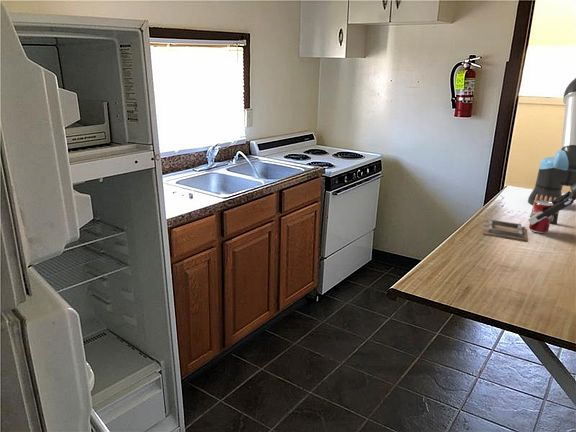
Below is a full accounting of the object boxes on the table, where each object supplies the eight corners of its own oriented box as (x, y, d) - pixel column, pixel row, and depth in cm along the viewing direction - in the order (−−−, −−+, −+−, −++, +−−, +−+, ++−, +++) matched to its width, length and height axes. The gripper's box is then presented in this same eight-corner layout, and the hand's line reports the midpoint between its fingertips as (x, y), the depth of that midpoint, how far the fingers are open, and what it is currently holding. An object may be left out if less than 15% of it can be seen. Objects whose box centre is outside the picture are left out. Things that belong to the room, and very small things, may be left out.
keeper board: (484, 222, 207) (484, 217, 206) (524, 228, 201) (525, 223, 200) (483, 234, 193) (484, 229, 192) (526, 241, 187) (527, 236, 186)
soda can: (529, 231, 196) (535, 204, 192) (528, 226, 203) (533, 199, 199) (548, 234, 194) (555, 206, 190) (547, 228, 200) (553, 201, 196)
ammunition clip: (556, 224, 208) (563, 198, 204) (555, 225, 207) (562, 198, 203) (530, 218, 214) (535, 192, 210) (529, 219, 213) (534, 193, 209)
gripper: (590, 203, 177) (533, 234, 190) (592, 191, 193) (539, 219, 206) (577, 187, 177) (521, 218, 191) (580, 176, 194) (528, 205, 207)
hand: (531, 219), depth 199 cm, fingers closed on soda can, 7 cm apart
